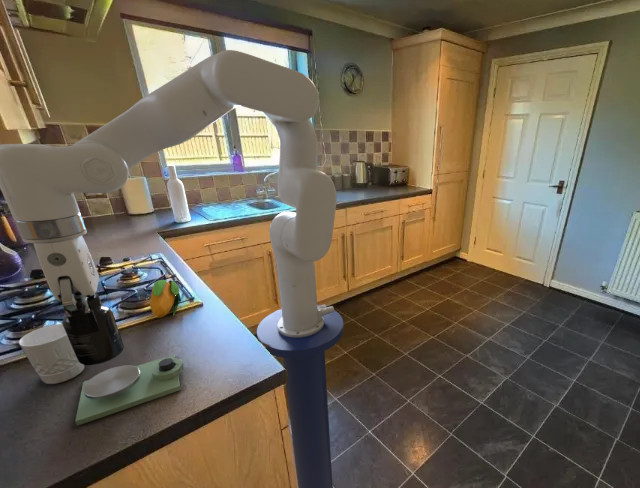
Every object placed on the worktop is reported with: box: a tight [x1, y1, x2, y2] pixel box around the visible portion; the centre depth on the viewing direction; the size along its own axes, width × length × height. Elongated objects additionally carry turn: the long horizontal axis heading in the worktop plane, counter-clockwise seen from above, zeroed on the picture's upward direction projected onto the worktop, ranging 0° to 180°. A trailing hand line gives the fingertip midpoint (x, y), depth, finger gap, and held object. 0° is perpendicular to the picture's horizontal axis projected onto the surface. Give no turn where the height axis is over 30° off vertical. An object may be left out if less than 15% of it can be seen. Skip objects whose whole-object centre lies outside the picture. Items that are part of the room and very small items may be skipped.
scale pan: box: [83, 364, 141, 400], centre depth 64 cm, size 9×9×1 cm
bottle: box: [166, 164, 192, 224], centre depth 179 cm, size 8×8×30 cm
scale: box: [74, 354, 184, 426], centre depth 67 cm, size 17×12×2 cm
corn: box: [149, 279, 180, 319], centre depth 94 cm, size 7×8×20 cm
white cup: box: [18, 323, 85, 385], centre depth 68 cm, size 8×8×10 cm
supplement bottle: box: [61, 293, 125, 366], centre depth 59 cm, size 7×7×12 cm
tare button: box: [159, 358, 175, 372], centre depth 69 cm, size 3×3×2 cm
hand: (90, 322), depth 59 cm, fingers closed on supplement bottle, 6 cm apart
